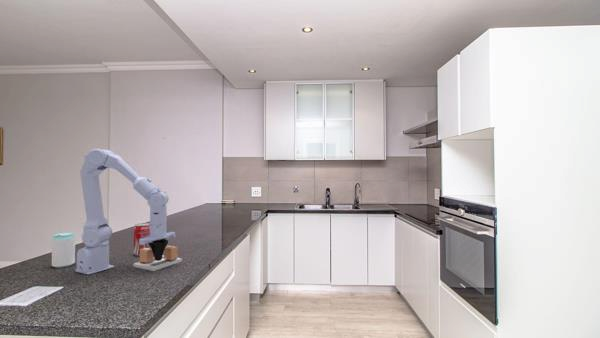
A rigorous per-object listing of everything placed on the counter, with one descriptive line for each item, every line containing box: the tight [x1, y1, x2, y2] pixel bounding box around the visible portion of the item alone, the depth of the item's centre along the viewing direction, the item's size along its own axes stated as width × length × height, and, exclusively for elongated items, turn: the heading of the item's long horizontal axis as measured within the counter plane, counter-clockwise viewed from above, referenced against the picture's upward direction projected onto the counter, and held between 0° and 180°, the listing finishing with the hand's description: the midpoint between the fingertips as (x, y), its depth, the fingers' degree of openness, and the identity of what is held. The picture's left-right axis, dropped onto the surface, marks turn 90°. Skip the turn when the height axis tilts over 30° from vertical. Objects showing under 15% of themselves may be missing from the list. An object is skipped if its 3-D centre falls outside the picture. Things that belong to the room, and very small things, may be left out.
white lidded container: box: [51, 232, 76, 269], centre depth 118 cm, size 7×7×12 cm
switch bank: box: [133, 254, 183, 272], centre depth 120 cm, size 13×11×1 cm
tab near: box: [163, 245, 179, 260], centre depth 122 cm, size 3×4×5 cm
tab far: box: [139, 248, 154, 263], centre depth 118 cm, size 3×4×5 cm
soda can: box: [133, 222, 150, 257], centre depth 134 cm, size 7×7×13 cm
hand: (158, 260), depth 116 cm, fingers closed
